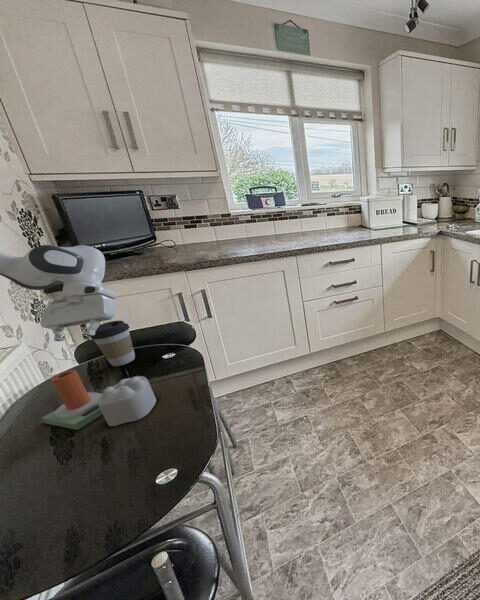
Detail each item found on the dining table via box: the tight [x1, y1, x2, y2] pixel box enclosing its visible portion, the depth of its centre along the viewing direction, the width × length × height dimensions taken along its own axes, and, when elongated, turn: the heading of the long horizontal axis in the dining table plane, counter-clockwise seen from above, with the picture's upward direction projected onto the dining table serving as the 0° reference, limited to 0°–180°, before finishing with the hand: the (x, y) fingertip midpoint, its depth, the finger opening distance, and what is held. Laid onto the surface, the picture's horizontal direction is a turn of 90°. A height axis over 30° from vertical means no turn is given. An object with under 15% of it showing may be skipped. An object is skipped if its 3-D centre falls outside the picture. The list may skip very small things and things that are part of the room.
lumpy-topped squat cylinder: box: [97, 375, 157, 427], centre depth 94 cm, size 10×13×9 cm
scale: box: [41, 391, 103, 431], centre depth 95 cm, size 14×12×3 cm
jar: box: [50, 369, 91, 410], centre depth 93 cm, size 5×5×10 cm
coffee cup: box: [89, 320, 136, 367], centre depth 121 cm, size 11×11×15 cm
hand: (74, 338), depth 98 cm, fingers open, 8 cm apart
